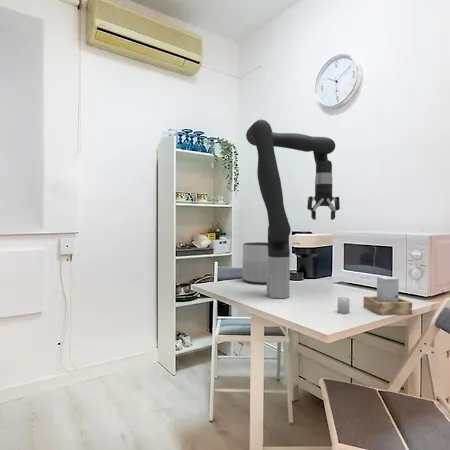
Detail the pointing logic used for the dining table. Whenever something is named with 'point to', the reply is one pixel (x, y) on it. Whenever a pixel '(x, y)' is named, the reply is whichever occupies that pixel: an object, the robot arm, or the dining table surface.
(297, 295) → the dining table surface
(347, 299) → the grey stub
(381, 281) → the skincare box
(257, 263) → the planter
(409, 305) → the oak collar
